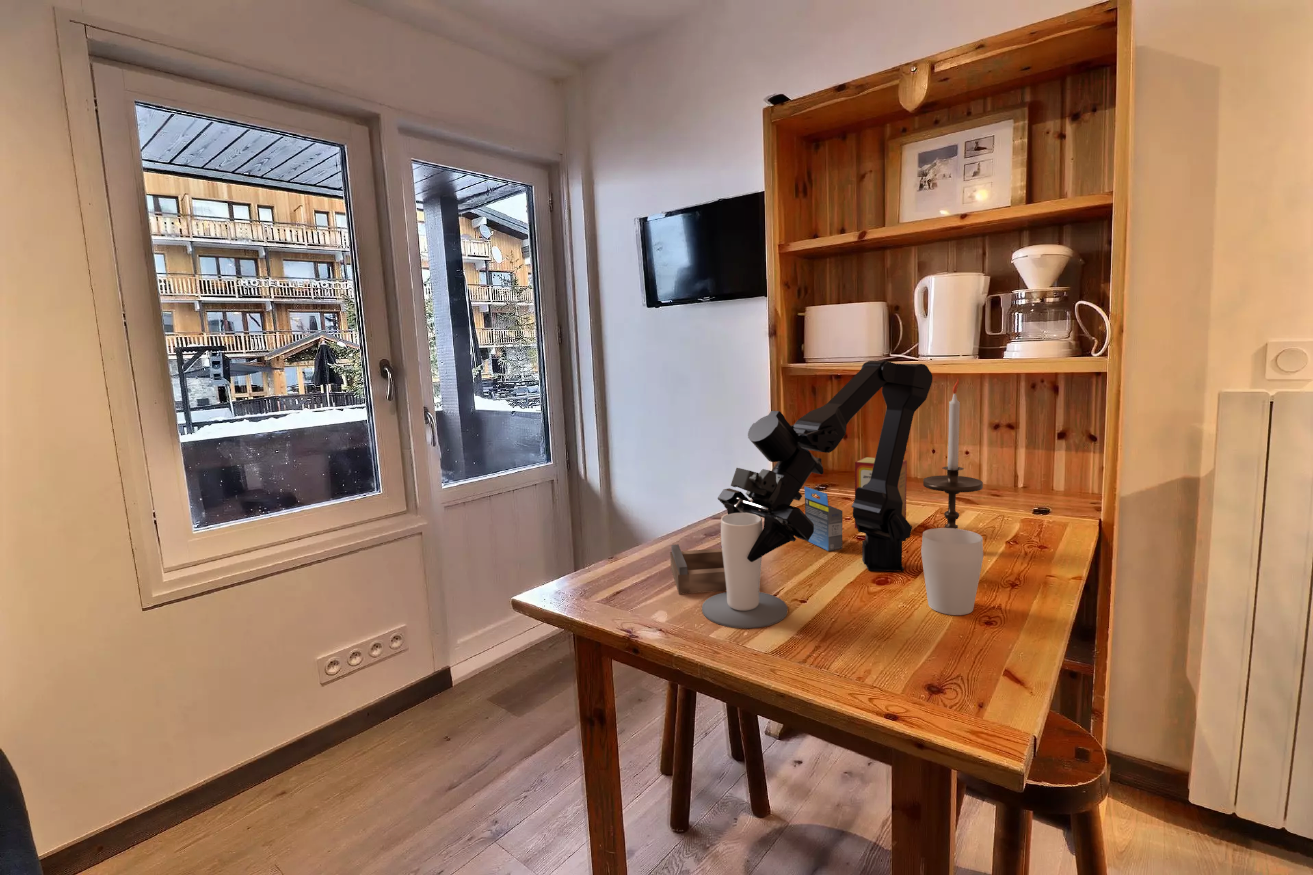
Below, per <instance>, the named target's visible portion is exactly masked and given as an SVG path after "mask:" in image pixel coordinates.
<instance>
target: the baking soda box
mask: <svg viewBox="0 0 1313 875" xmlns="http://www.w3.org/2000/svg"><path fill="white" fill-rule="evenodd" d="M874 462H875V457H867V456H866V457H862V458H861V459H857V460H856V461H854V494H855V493H856V490H857V488H858V487H862V488H864V487H865V485H866V484H867V483H868V482H869V481H870V479H871V475H872V470H873V466H874ZM907 464H908V460H907V459H905V460H903V464H902V469H901V473H900V477H899V482H898V490H899V493H900V496H901V499H902V502H903V505H902V515H903V516H904V518H905V519H906V520H907V475H908V474H907V473H908V471H907V470H908V467H907V466H908V465H907ZM854 528H855V529H857V525H856V522H855V521H854Z"/></svg>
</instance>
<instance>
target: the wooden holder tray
mask: <svg viewBox="0 0 1313 875" xmlns="http://www.w3.org/2000/svg"><path fill="white" fill-rule="evenodd" d="M669 554H670V555H669V556H670V558H669V559H670V571H671V575H672V576H673V577H672V578H673V580H674V583H675V585H676V589H677V593H678V595H681V594H682V593H684V594H692V593H693V594H696V593H697V594H698V593H707V592H708V593H710V592H721V591H724V592H725V591H726V581H725V572H724V564H723V556H722V548H707V549H690V550H681V547H680V544H671V551H670V552H669Z"/></svg>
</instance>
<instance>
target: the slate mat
mask: <svg viewBox="0 0 1313 875" xmlns="http://www.w3.org/2000/svg"><path fill="white" fill-rule="evenodd" d="M788 608H789V607H788V606H787V603H786V602H785V601H784V600H783V599H781V598H780V597H778V596H775V595H773V594H771V593H766V592H762V591H759V605H758V606H757V607H756V608H755V609H752V610H748V611H739V610H735V609H733V608H731V607H730V606H729V605H728V603H727V591H726V592H725V591H724V592H721V593H717V594H715V595H712V596H710V597H708V598H707V599H706V600H705V601H704V602H703V603H702V605H701V611H702V614H703V616H704V617H705V618H706V619H707V620H709V621H711V622H712V623H714V624H716V625H717V624H718V625H719V626H720V625H721V626H724V627H729V628H734V629H759V628H763V627H764V628H765V627H769V626H772V625H775V624H777V623H779V622H781V621H783V620H784V619H785V618H786V617H787V615H788Z"/></svg>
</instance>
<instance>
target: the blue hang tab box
mask: <svg viewBox="0 0 1313 875" xmlns="http://www.w3.org/2000/svg"><path fill="white" fill-rule="evenodd" d="M803 487H804V488H803V489H804V514H805V515H806V516H807V517H808V518H809V519H810V520H811V521H812V523H813V524H814V533H813V534H812V536H811V537H810V539H809V540H808V541H807V542H808V543H811V544H813V545H815V546H817V547H819V548H821V549H823V550H825V551H826V552H833V551H838V550H843V510H842V509H839V508H837V507H833V506H832V505H829V499H828V493H826V492H823V491H820V490H817V489H814V488H811V487H808V486H806V485H803ZM813 495H814V496H813ZM815 495H816V496H817V497H816V496H815ZM818 497H819V498H818Z"/></svg>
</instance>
